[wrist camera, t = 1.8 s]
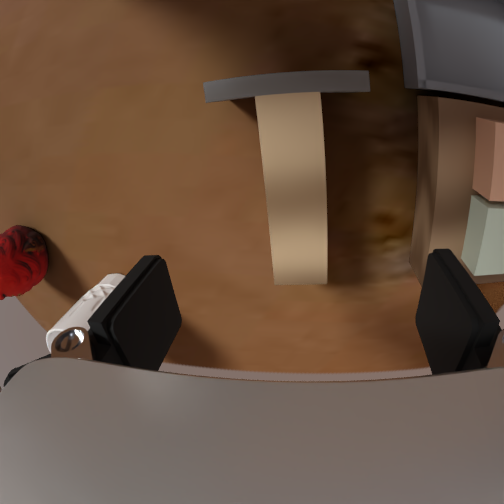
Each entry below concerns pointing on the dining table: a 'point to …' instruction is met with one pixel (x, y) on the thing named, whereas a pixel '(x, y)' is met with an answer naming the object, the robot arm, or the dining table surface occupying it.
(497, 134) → the tile terracotta
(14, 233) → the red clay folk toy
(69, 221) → the dining table surface
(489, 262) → the tile sage
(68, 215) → the dining table surface
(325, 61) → the dining table surface
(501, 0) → the tray
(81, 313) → the white cup
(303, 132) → the scraper
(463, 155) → the wooden block
